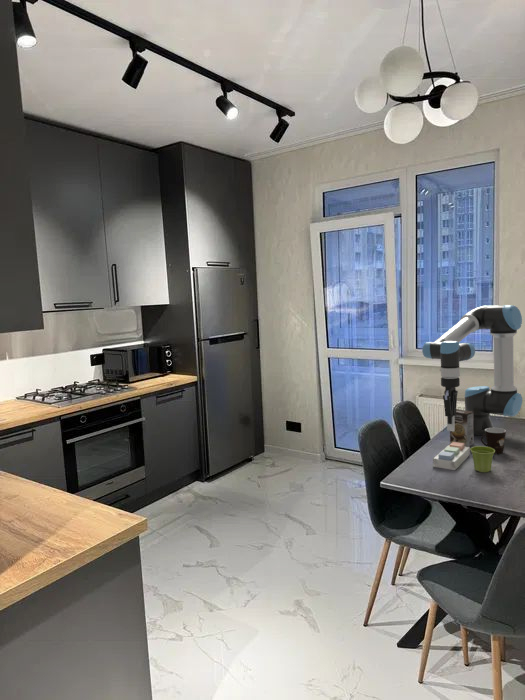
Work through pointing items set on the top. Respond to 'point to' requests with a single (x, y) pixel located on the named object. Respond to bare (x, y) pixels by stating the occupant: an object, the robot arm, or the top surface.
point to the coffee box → (463, 428)
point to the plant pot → (482, 458)
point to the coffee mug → (495, 439)
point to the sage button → (452, 450)
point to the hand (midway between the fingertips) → (450, 430)
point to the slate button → (446, 456)
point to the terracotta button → (457, 445)
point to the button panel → (454, 462)
